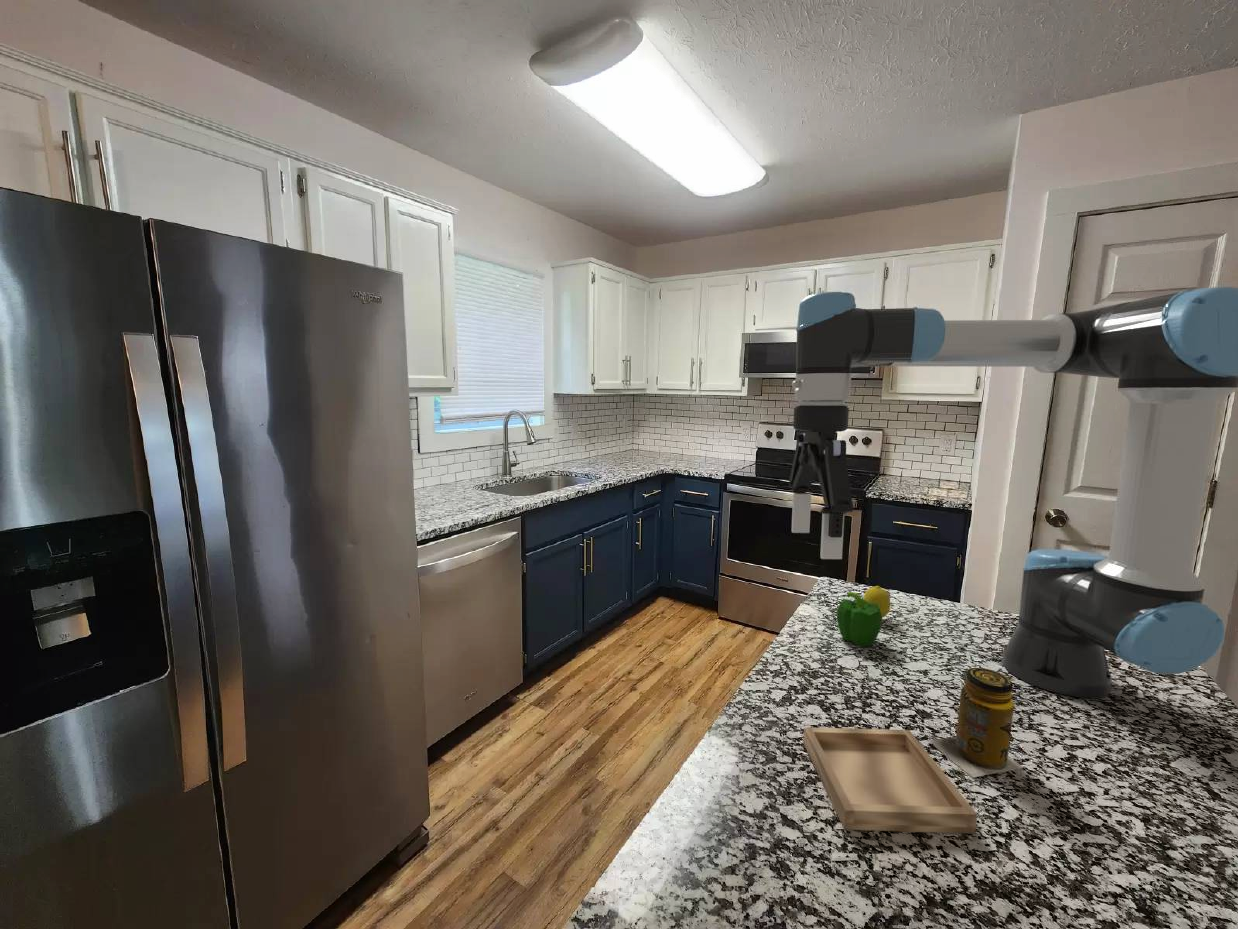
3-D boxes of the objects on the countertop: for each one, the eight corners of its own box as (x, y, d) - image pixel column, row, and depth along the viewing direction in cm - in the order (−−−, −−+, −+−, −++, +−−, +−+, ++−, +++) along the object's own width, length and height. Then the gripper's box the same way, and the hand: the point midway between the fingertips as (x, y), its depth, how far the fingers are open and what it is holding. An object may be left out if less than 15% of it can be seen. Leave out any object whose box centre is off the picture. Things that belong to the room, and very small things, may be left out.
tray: (907, 746, 75) (909, 730, 74) (975, 833, 60) (977, 814, 59) (803, 743, 75) (804, 727, 75) (844, 829, 60) (845, 810, 60)
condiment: (1023, 768, 70) (1033, 687, 69) (972, 779, 68) (981, 695, 67) (975, 734, 77) (983, 659, 76) (928, 742, 75) (935, 666, 74)
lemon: (892, 626, 113) (895, 591, 112) (865, 624, 114) (867, 589, 113) (884, 615, 118) (887, 582, 117) (858, 613, 119) (861, 580, 118)
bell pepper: (888, 643, 105) (892, 596, 104) (865, 654, 101) (869, 605, 99) (851, 627, 112) (854, 583, 111) (827, 637, 108) (830, 591, 106)
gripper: (773, 402, 88) (768, 523, 91) (826, 405, 63) (817, 572, 66) (817, 402, 88) (811, 523, 90) (888, 405, 63) (877, 572, 66)
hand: (814, 544), depth 78 cm, fingers open, 13 cm apart
